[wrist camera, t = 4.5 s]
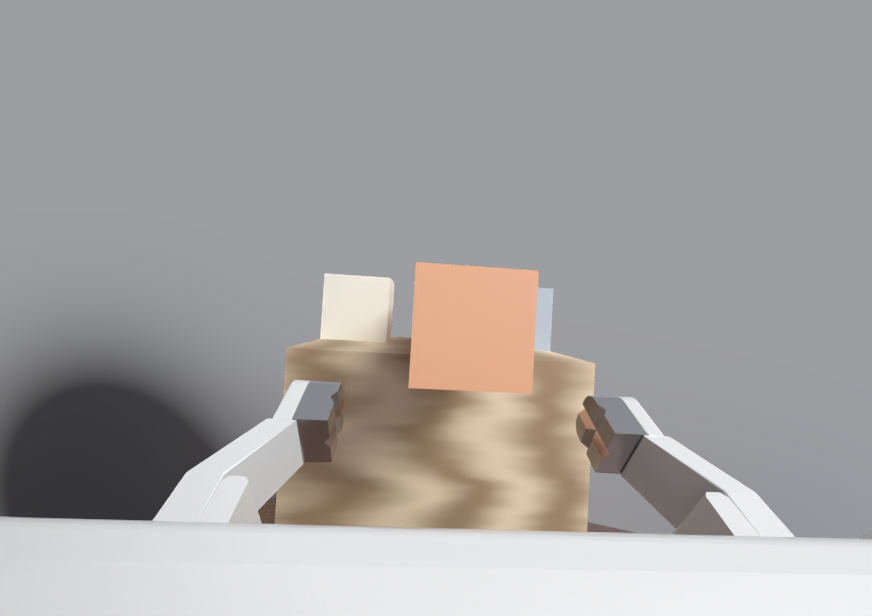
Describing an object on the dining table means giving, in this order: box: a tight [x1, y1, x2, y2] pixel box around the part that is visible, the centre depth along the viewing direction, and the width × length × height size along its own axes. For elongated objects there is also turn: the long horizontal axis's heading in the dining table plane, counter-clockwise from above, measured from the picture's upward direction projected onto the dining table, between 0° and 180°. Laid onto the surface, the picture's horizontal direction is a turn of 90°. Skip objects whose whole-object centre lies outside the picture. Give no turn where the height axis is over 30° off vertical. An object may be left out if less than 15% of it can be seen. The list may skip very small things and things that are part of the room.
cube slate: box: [534, 288, 553, 351], centre depth 28 cm, size 5×5×5 cm
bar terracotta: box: [408, 262, 539, 394], centre depth 21 cm, size 4×21×4 cm, turn 4°
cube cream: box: [320, 274, 394, 342], centre depth 27 cm, size 5×5×5 cm
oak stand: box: [275, 337, 595, 532], centre depth 25 cm, size 18×12×26 cm
